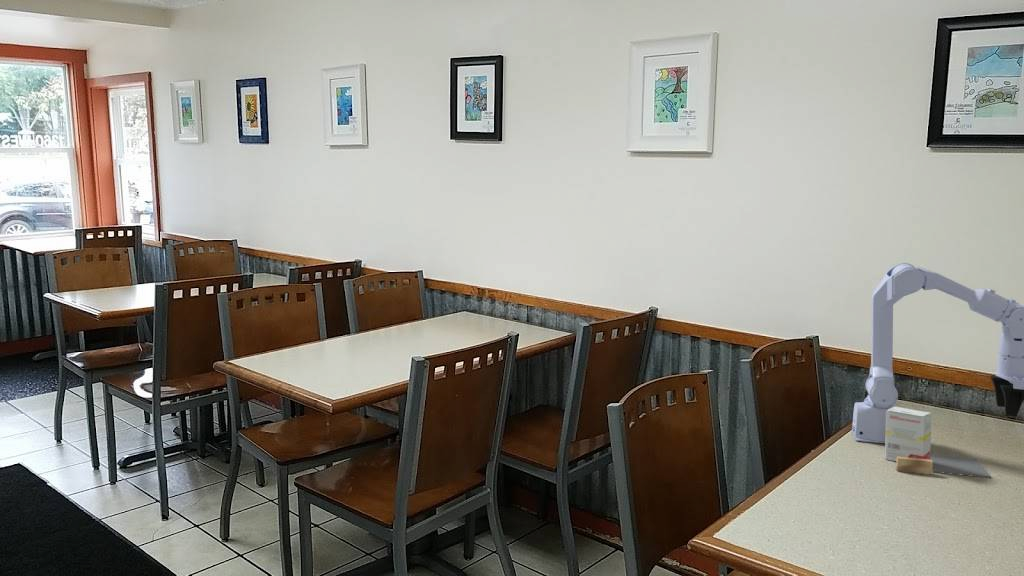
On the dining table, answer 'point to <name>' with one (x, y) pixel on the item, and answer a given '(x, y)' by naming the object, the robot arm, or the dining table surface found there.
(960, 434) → the dining table surface
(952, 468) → the rubber mat
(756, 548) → the dining table surface
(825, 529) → the dining table surface
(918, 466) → the rail bay
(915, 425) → the ink box
